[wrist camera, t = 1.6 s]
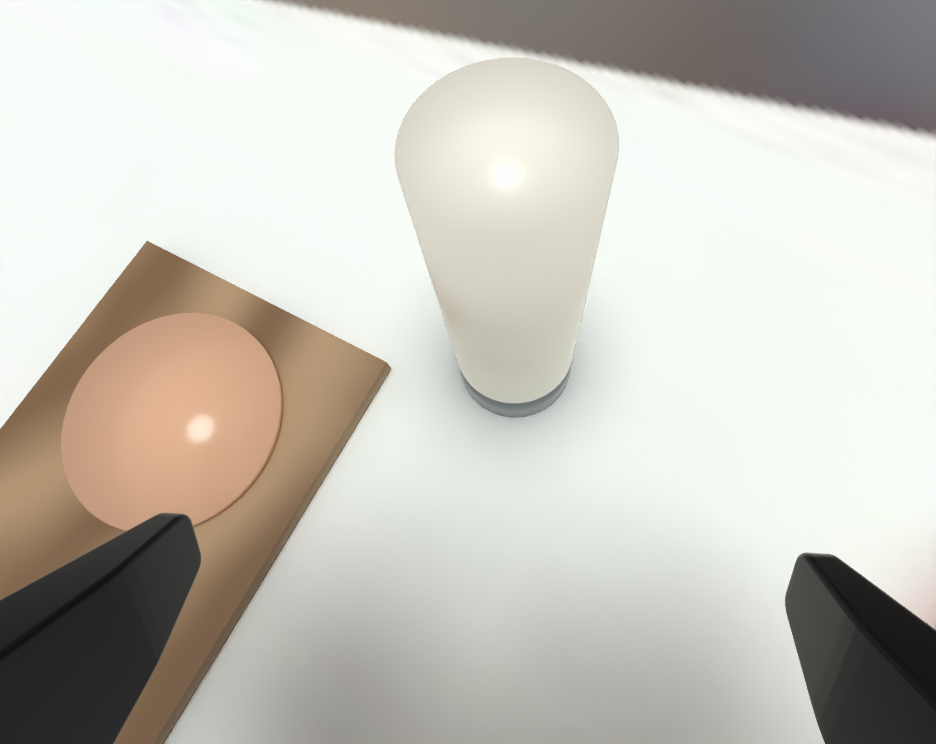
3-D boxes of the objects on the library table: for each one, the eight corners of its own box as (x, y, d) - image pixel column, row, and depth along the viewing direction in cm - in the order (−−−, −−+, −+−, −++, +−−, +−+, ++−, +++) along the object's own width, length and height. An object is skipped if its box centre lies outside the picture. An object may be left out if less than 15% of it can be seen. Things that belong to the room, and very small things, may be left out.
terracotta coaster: (326, 372, 23) (323, 369, 23) (194, 579, 21) (187, 579, 21) (159, 284, 26) (154, 280, 25) (23, 464, 23) (15, 462, 23)
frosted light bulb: (588, 342, 24) (656, 98, 11) (539, 436, 23) (556, 277, 10) (493, 299, 25) (461, 32, 12) (442, 387, 24) (353, 190, 11)
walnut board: (391, 369, 24) (386, 362, 23) (-20, 1044, 18) (-44, 1065, 17) (157, 250, 27) (147, 240, 26) (-262, 794, 21) (-291, 802, 20)
